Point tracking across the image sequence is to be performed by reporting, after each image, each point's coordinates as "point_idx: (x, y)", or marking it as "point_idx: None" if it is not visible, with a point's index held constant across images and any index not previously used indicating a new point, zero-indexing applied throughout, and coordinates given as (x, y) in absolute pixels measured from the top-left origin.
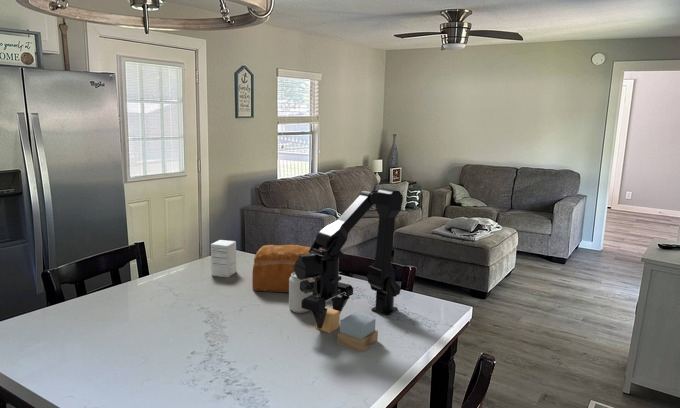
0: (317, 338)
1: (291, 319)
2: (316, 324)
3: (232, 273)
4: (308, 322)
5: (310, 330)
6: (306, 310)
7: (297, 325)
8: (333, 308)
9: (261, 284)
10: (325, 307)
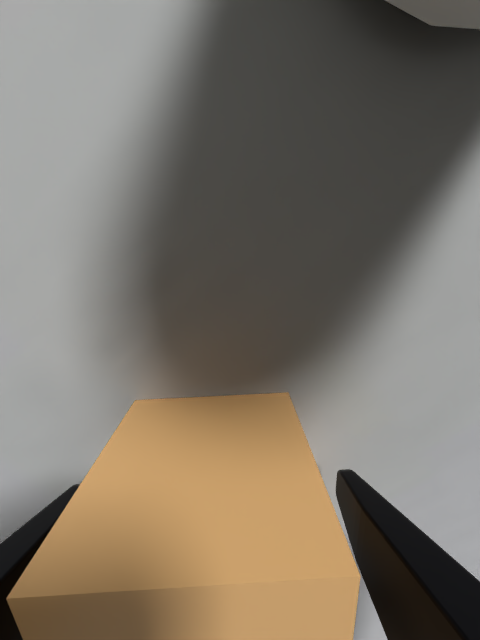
0: (10, 515)
1: (96, 20)
2: (122, 431)
3: None
4: (181, 266)
5: (64, 397)
6: (411, 12)
7: (37, 224)
8: (423, 608)
9: None
10: (342, 580)
